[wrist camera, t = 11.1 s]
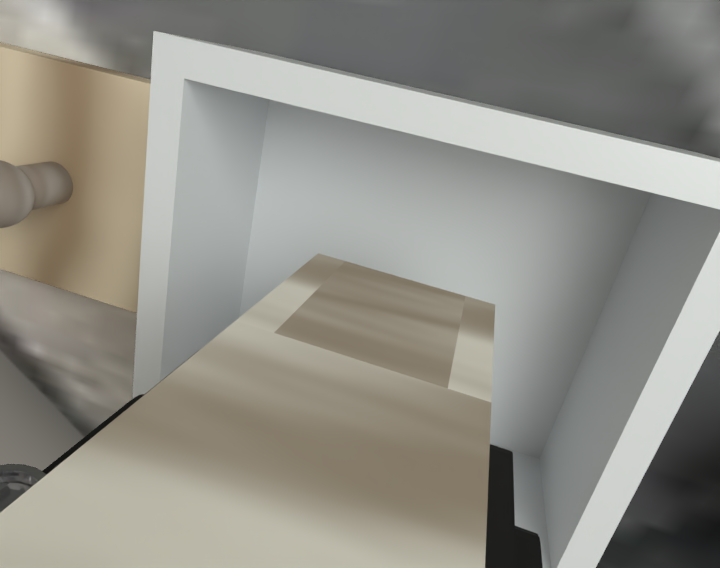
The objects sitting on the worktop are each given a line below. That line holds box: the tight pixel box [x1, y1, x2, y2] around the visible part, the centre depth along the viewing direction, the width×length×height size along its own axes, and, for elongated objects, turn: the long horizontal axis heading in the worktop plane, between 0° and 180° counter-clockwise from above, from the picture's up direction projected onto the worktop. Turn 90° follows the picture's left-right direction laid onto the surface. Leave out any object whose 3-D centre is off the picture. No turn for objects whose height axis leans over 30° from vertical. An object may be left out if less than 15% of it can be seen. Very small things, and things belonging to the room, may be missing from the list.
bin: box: [132, 31, 720, 568], centre depth 19 cm, size 16×14×7 cm
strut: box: [0, 253, 495, 568], centre depth 9 cm, size 5×5×13 cm
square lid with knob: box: [0, 42, 151, 313], centre depth 22 cm, size 10×10×6 cm
